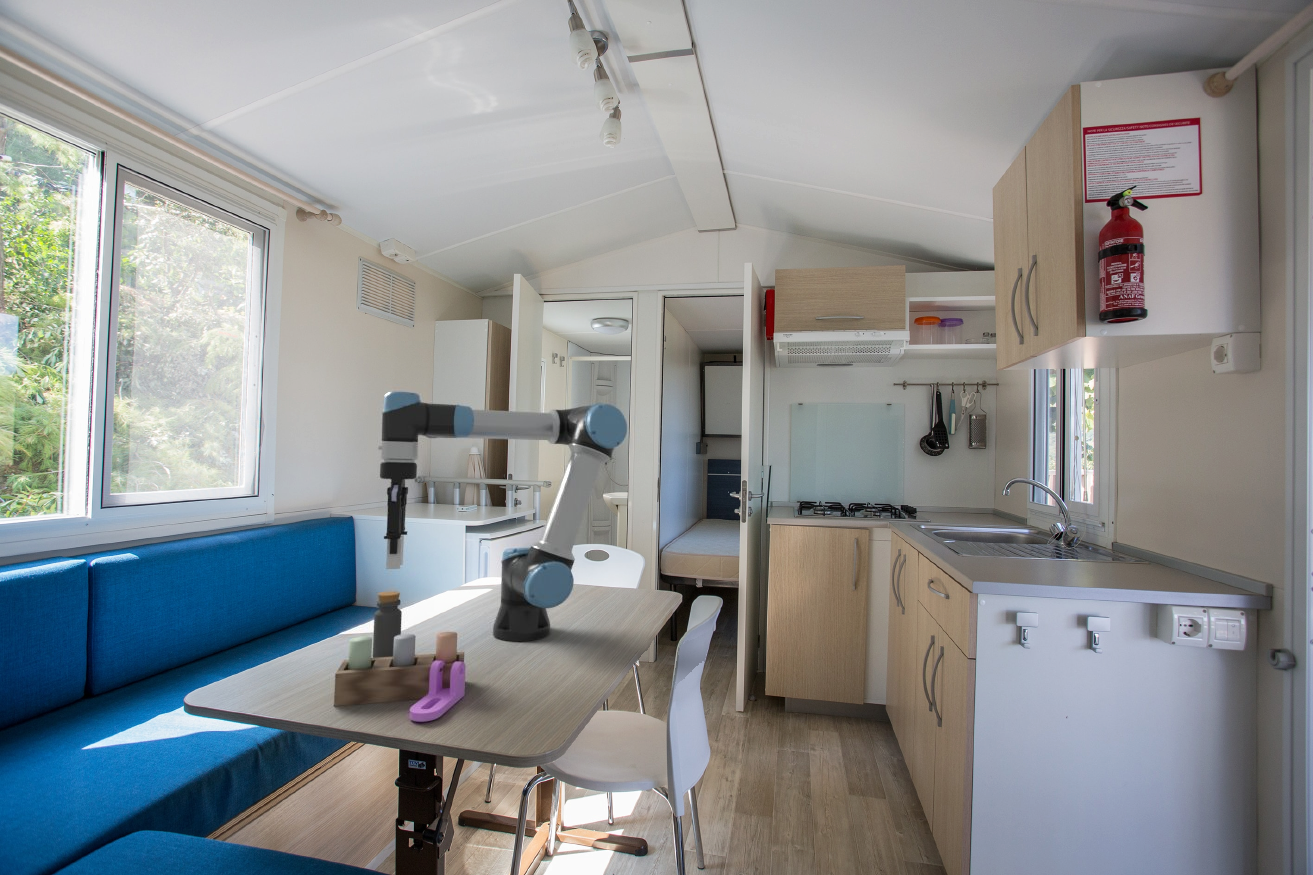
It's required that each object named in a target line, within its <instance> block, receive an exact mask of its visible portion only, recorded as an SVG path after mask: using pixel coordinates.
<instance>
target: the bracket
mask: <svg viewBox="0 0 1313 875" xmlns="http://www.w3.org/2000/svg"><path fill="white" fill-rule="evenodd" d="M443 665H445V663H444V661H434V662H433V663H432V665H431V668H430V677H429V693H428V694H427V695H426V696H425V697H424V698H422V699H419V700H418V701H417V702H416V703H415V704H413V705H412V706H410V707H409V719H410V720H411V721H412V722H429V721H430V722H431V721H433V720H437V719H439V718H440V717H441V716H443V715H444V714H445V713H446V712H447V711H449V709H450V708H452V707H453V706H454V705H455V704H457V702H459V701H460V700H461V699H463V697H464V696H465V695H466V694H465V691H466V689H465V688H466V663H465V661H464V662H457V661H456V662H454V664H453V665H452V668H451V673H450V688H446V689H442V674H443V670H442V671H441V672H439V671H440V668H442V669H443Z"/></svg>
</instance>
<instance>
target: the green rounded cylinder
mask: <svg viewBox="0 0 1313 875" xmlns="http://www.w3.org/2000/svg"><path fill="white" fill-rule="evenodd" d="M348 642H349V643H348V645H349V646H348V660H349V663H348V670H359V669H371V658H372V655H373V636H368V635H367V636H365V635H364V636H357V637H353V638H350V639H349V641H348Z"/></svg>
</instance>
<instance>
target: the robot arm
mask: <svg viewBox="0 0 1313 875" xmlns="http://www.w3.org/2000/svg"><path fill="white" fill-rule="evenodd" d="M381 421H382V422H381V445H379V446H378V449H377V450H379V451H380V459H381V460H383V461H382V462H381V461H380V462H381V463H380V465H379V478H380V479H383V480H391V481H390V486H389V487H387V488H386V489H387V490H386V495H387V504H386V505H387V518H386V519H387V520H386V533H385V535H384V536H383V540H386V542H387V543H386V567H385V569H386V570H396V569H397V570H398V569H399V570H400V569H401V565H403V564H404V540H405V538H404V537H405V536H407V535H408V531H405V530H406V512H407V510H406V509H407V508H406V507H407V502H408V500H407V499H408V494H409V487H408V486H406V480H415V479H417V473H418V465H417V462H415V461H417V460H418V458H419V455H418V453H419V436H423V437H426V438H428V439H482V440H483V439H488V440H489V439H490V440H493V439H494V440H523V441H525V440H526V441H527V440H530V441H531V440H533V441H547V442H549V443H548V444H552V445H564V446H568V449H570V452H571V454H570V457H569V460H568V462H567V465H566V468H565V470H564V473H563V476H562V478H561V480H560V484H559V487H558V489H557V492H556V496H555V498H554V500H553V503H552V505H551V510H550V511H549V515H548V517H547V519H546V523H545V524H544V528H543V530H542V533H541V535H540V539H539V540H538V541H537V542H534V543H533V544H531V545H530V547H516V548H515V547H514V548H512V547H511V548H506V549H505V550H503V553H502V560H501V582H500V583H501V586H500V587H501V590H500V607H499V609H498V611H497V613H496V616H495V620H494V622H493V627H492V635H493V636H494V637H495V638H496V639H498V640H503V641H510V642H524V641H525V642H528V641H535V640H538V639H539V640H540V639H542V638H545V637H547V636H549V635H550V633H551V621H550V619H549V618H550V617H549V615H548V610H547V609H553V608H555V607H558V606H559V605H561V604H563V603H564V602H565V601H566V600H567V599H568V598H569V597H570V595H571V593H572V591H573V588H574V584H575V582H574V581H575V579H574V576H573V573H572V569H573V567H574V566H573V565H574V563H575V560H576V559H575V557H574V555H573V548H574V545H575V542H576V540H577V538H578V534H579V531H580V528H581V526H582V523H583V520H584V517H585V514H586V511H587V508H588V505H589V503H590V500H591V497H592V495H593V492H594V488H595V487H596V483H597V480H598V478H599V475H600V472H601V469H602V466H603V464H605V463H607V462H609V461H611V458H612V455H613V453H614V450H615V448H616V447H619V446H620V445H621V444H622V443H623V442H624V440H625V438H626V436H627V433H628V425H627V421H626V418H625V414H623V412H622V411H621V410H620V409H619V407H616V406H615V405H614V404H613V405H612V404H609V403H595V404H592V405H586V406H585V405H584V406H578V407H573V408H567V409H550V410H549V411H548V412H534V411H532V412H531V411H509V410H489V409H473V408H472V407H470V406H468V405H461V404H449V403H448V404H447V403H446V404H445V403H428V402H423V401H421V398H420V394H419V393H416V392H409V391H388V392H387V393H386V394H384V396H383V406H382V419H381Z"/></svg>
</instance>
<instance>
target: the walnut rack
mask: <svg viewBox="0 0 1313 875" xmlns="http://www.w3.org/2000/svg"><path fill="white" fill-rule="evenodd" d="M434 661H436V653H428V654H425V653H424V654H415V663H414V666H401V667H393V657H380V658H373V657H371V669H359V670H348V663H349V659H343V661H342V662H341V664H340V666H339V667H338V669H337V670H336V672H335V675H334V676H335V677H334V678H335V679H334V695H333V697H334V698H333V707H339V706H351V705H353V706H354V705H364V704H365V705H366V704H374V703H376V704H377V703H387V702H388V703H389V702H396V701H397V702H398V701H410V700H421V699H422V698H424V697H425V696H426V695H427V694H428V693H429V677H430V668H431V665H432V663H433V662H434ZM456 661H457V662H464V663H465V651H458V652H457V657H456ZM453 664H454V663H445V665H443V669H442V668H440V671H439V672H441V671H442V670H443V674H442V689H446V688H450V673H451V668H452V665H453Z"/></svg>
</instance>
